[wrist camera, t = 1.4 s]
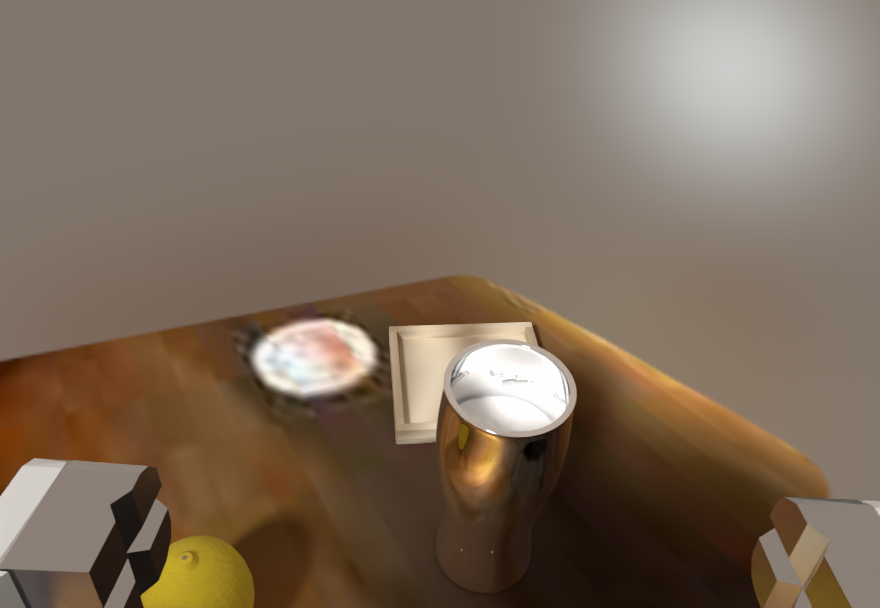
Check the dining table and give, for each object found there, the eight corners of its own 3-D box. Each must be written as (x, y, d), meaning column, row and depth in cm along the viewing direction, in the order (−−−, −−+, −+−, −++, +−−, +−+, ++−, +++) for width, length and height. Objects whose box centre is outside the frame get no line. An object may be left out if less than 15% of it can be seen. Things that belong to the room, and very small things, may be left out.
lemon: (275, 593, 40) (259, 517, 35) (240, 694, 36) (216, 624, 31) (186, 578, 40) (156, 500, 35) (140, 675, 36) (100, 603, 31)
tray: (396, 444, 49) (396, 430, 48) (389, 340, 57) (389, 326, 56) (558, 436, 50) (562, 422, 49) (528, 335, 58) (531, 322, 57)
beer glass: (421, 505, 45) (430, 339, 35) (524, 496, 46) (560, 332, 36) (434, 607, 40) (450, 445, 30) (550, 595, 41) (600, 434, 31)
